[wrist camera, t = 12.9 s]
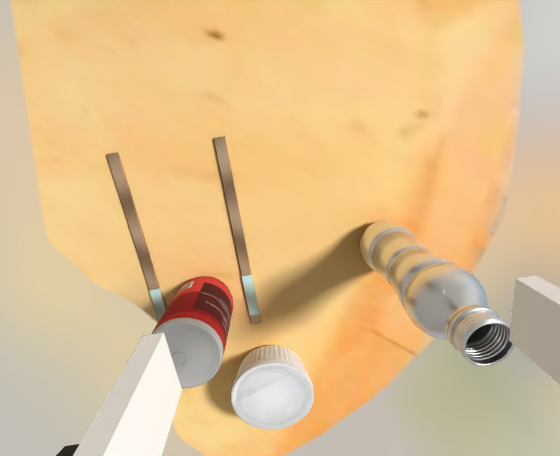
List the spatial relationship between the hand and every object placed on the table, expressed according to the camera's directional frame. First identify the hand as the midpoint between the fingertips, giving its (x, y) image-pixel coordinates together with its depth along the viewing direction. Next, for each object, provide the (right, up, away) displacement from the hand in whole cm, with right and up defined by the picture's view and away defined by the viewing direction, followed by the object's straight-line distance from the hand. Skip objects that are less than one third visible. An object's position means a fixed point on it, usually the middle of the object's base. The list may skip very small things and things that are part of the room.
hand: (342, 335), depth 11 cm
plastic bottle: (+11, +3, +28) cm, 30 cm away
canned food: (-12, -6, +29) cm, 32 cm away
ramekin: (-4, -17, +34) cm, 38 cm away
